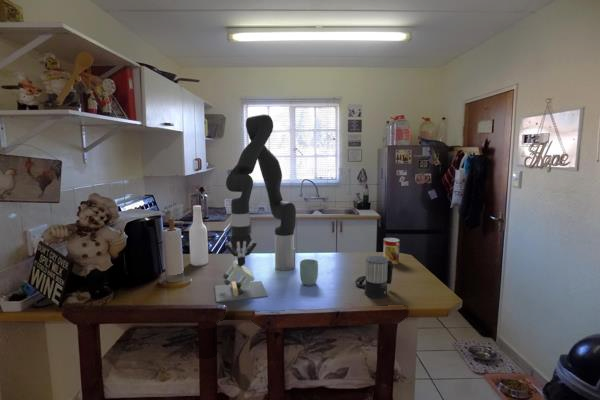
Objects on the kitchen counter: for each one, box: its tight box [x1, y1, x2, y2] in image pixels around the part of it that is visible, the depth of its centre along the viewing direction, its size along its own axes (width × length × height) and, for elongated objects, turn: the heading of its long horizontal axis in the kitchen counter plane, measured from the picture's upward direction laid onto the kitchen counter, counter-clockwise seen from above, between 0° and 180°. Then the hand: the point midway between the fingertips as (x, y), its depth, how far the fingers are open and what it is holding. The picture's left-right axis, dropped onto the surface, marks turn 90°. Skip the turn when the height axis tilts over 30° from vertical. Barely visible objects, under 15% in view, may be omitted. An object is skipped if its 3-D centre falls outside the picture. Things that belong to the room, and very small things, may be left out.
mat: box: [214, 280, 269, 303], centre depth 143 cm, size 20×16×3 cm
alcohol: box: [188, 204, 209, 267], centre depth 177 cm, size 9×9×30 cm
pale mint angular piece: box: [223, 259, 255, 294], centre depth 142 cm, size 9×9×9 cm
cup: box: [299, 258, 319, 287], centre depth 151 cm, size 8×8×10 cm
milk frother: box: [355, 255, 394, 299], centre depth 144 cm, size 14×16×15 cm
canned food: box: [382, 237, 400, 265], centre depth 181 cm, size 8×8×12 cm
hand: (241, 265), depth 142 cm, fingers closed
